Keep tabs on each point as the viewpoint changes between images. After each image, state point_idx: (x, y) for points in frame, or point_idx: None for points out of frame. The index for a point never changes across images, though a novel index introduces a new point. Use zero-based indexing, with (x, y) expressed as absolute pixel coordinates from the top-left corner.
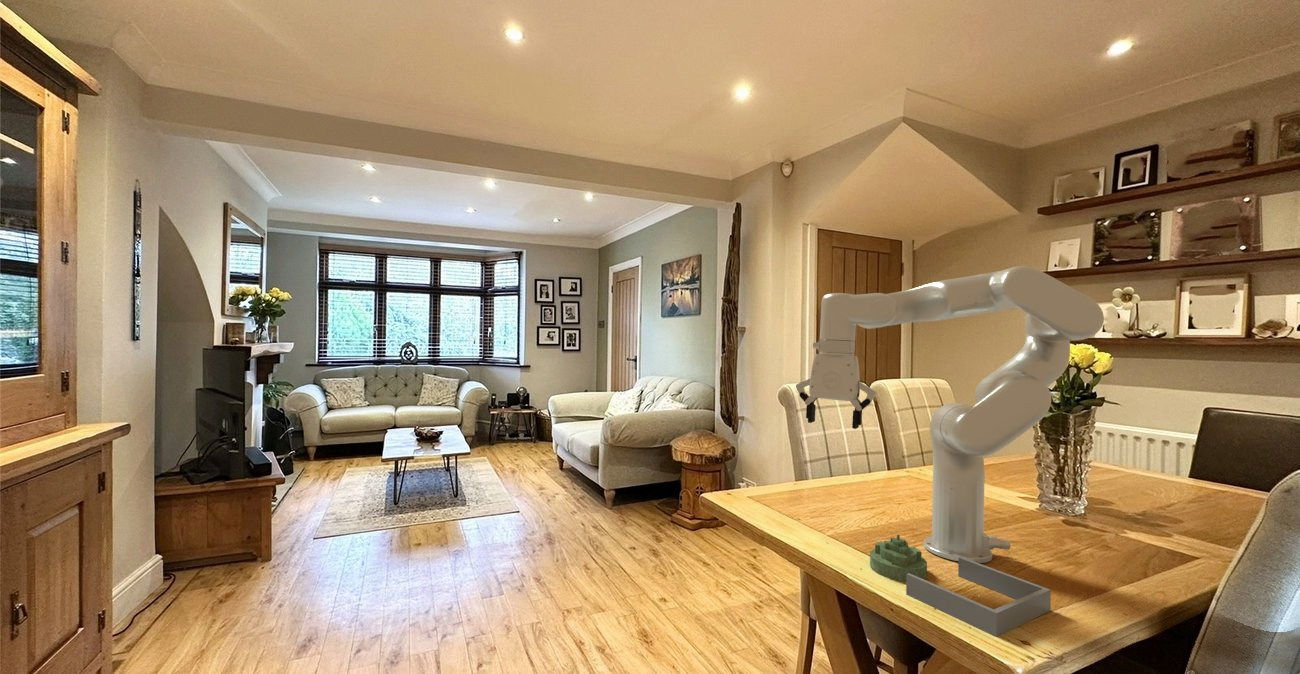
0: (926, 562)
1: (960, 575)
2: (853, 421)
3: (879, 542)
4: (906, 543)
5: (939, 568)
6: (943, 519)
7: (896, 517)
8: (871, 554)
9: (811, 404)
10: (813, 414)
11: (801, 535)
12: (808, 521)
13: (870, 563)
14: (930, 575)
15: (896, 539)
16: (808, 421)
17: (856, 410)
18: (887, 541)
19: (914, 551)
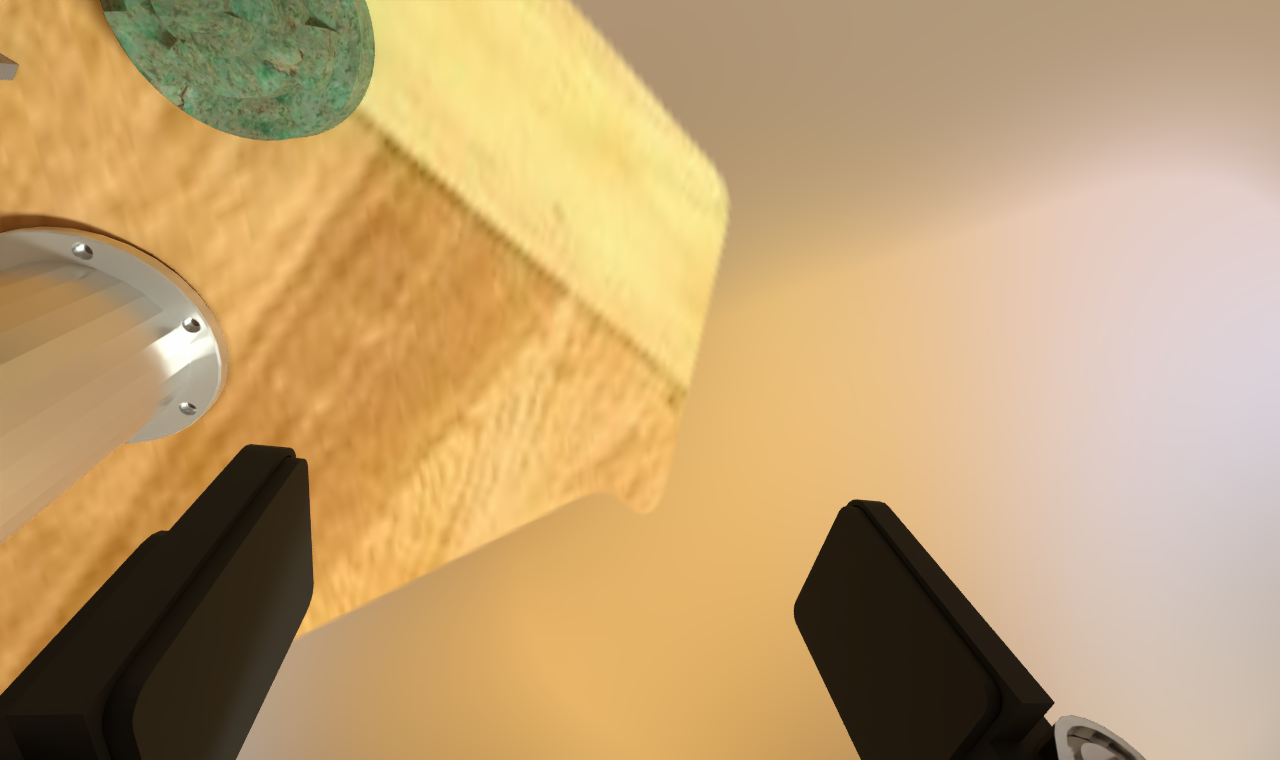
0: (103, 5)
1: (3, 58)
2: (235, 511)
3: (316, 71)
4: (174, 48)
5: (113, 124)
6: (22, 323)
7: (373, 565)
8: (350, 3)
9: (1003, 757)
10: (859, 638)
11: (651, 244)
12: (640, 393)
13: (363, 5)
14: None
15: (202, 7)
16: (879, 503)
17: (25, 746)
18: (258, 19)
19: (136, 8)
